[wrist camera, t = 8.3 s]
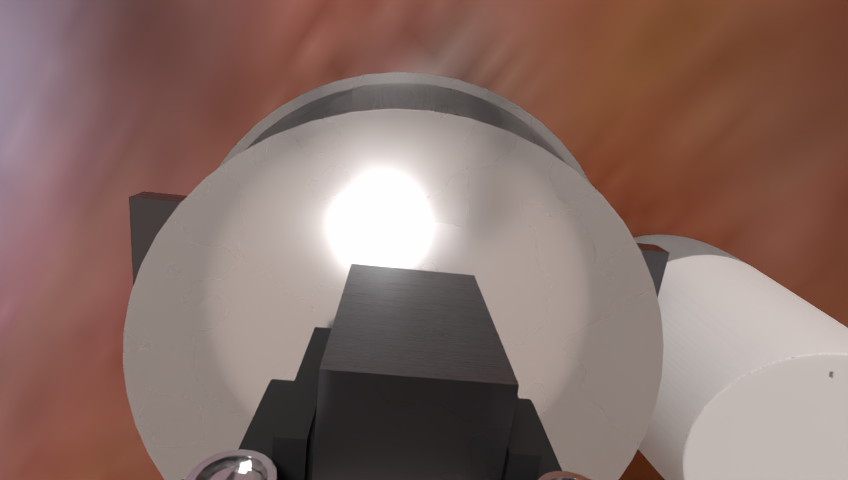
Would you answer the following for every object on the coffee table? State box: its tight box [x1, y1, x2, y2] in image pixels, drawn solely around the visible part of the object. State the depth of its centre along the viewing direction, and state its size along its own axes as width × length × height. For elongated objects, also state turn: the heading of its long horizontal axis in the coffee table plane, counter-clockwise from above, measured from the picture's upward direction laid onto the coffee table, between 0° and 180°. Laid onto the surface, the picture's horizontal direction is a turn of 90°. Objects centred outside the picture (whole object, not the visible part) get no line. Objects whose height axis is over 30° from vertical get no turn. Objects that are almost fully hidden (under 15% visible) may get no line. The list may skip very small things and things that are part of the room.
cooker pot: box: [129, 72, 669, 298], centre depth 21 cm, size 19×15×9 cm
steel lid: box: [123, 108, 664, 480], centre depth 10 cm, size 13×13×6 cm
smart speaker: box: [634, 235, 848, 480], centre depth 21 cm, size 10×9×14 cm
